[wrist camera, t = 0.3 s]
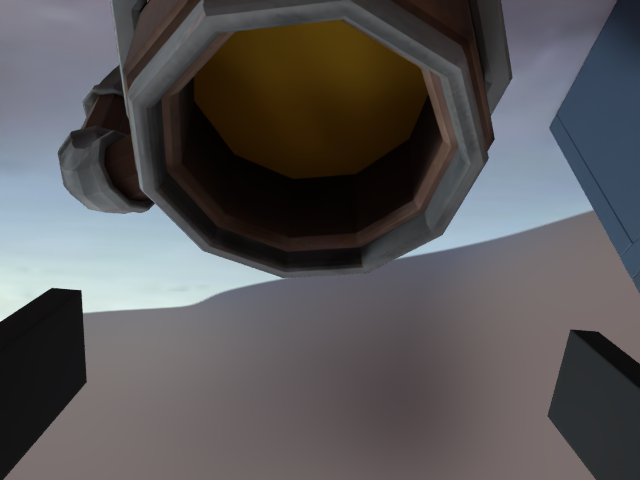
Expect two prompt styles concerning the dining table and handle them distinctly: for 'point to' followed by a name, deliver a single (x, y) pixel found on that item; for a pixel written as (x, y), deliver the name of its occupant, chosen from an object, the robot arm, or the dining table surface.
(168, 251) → the dining table surface
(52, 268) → the dining table surface
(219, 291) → the dining table surface
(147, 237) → the dining table surface
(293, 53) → the mug
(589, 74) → the blue channel bracket
